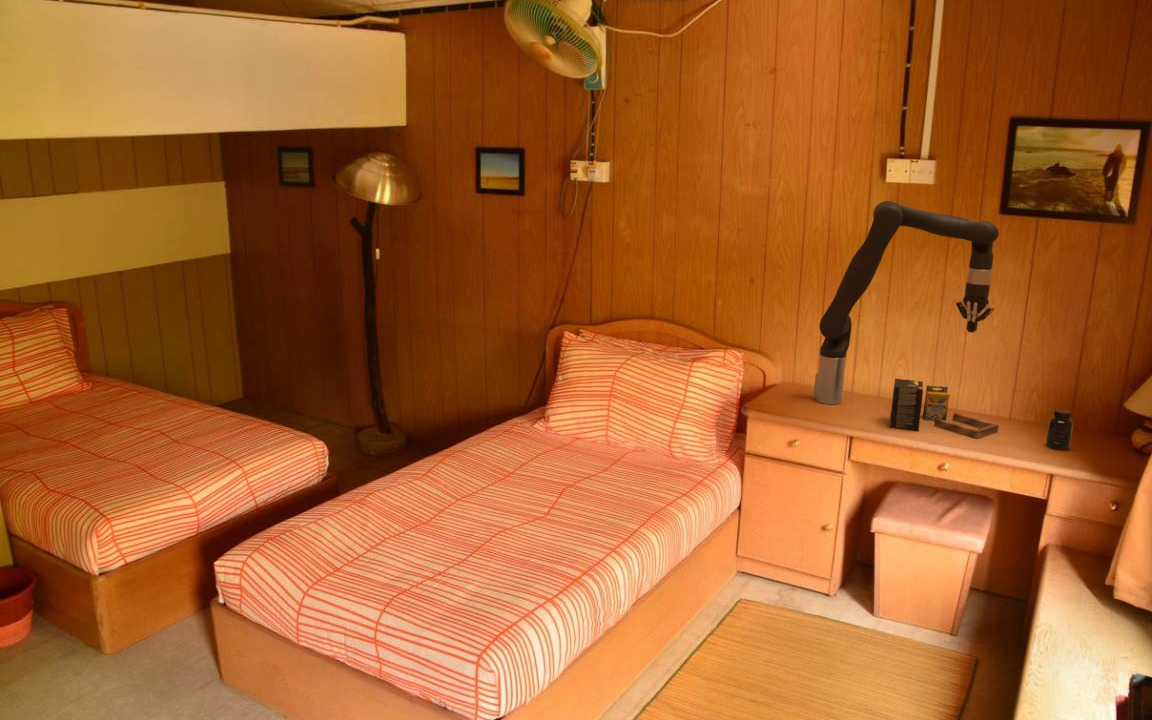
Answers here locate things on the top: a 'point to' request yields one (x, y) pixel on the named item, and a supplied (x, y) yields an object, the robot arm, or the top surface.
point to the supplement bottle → (1060, 430)
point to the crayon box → (936, 403)
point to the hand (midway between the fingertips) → (971, 332)
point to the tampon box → (906, 404)
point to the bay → (984, 431)
